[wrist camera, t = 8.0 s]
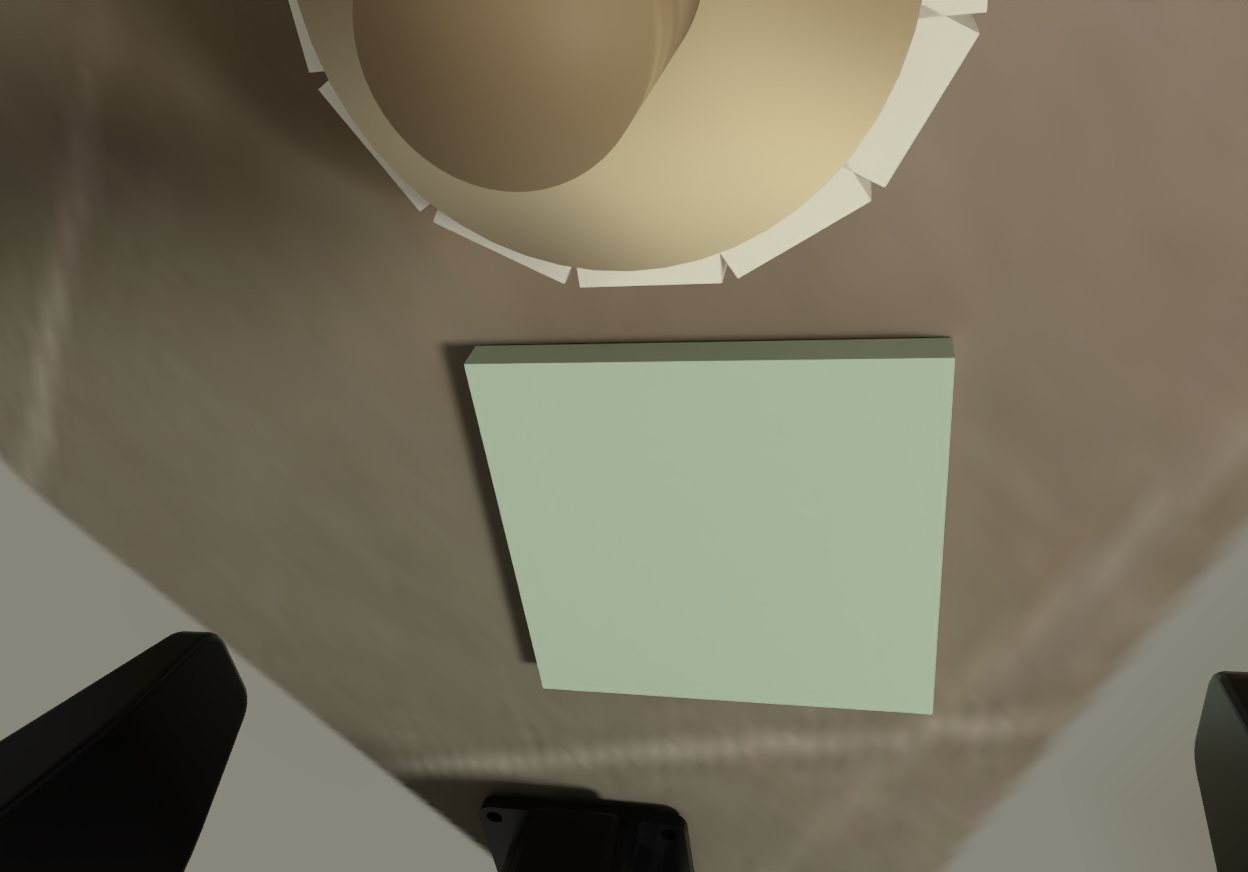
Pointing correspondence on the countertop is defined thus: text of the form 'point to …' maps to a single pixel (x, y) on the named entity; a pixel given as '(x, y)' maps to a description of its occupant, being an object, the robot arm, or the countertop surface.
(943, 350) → the mat
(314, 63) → the white faceted ring
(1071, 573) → the countertop surface
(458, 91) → the lid
